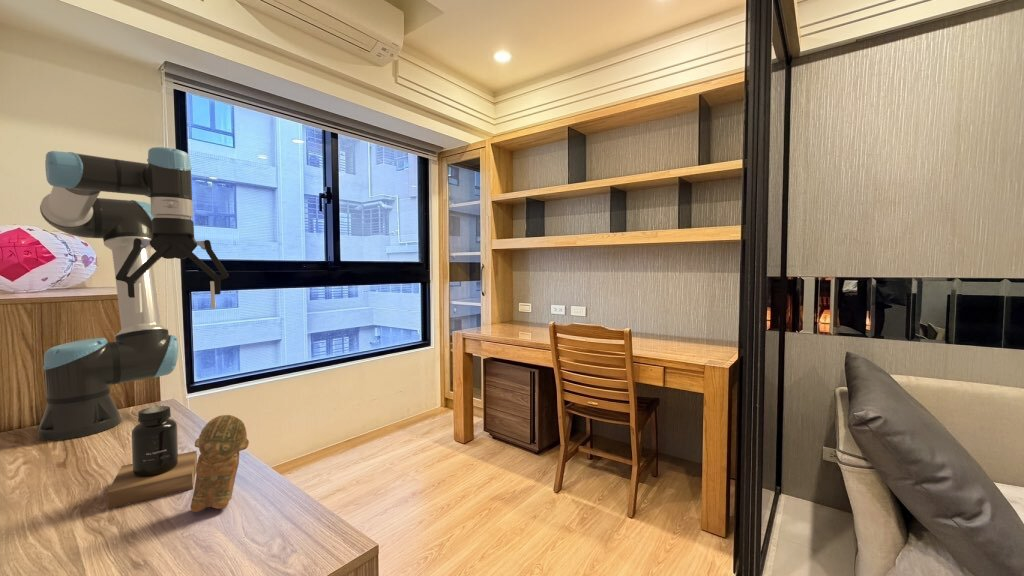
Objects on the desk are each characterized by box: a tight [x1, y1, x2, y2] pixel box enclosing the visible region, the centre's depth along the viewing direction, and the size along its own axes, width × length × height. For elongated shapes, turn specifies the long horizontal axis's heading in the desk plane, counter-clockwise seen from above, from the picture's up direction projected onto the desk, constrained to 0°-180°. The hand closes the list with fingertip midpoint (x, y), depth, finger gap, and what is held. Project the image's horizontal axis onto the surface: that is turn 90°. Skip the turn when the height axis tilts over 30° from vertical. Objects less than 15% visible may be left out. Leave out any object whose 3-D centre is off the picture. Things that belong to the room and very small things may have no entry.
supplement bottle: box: [131, 405, 179, 477], centre depth 82 cm, size 7×7×12 cm
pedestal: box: [106, 450, 198, 510], centre depth 83 cm, size 12×12×3 cm
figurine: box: [190, 414, 250, 513], centre depth 76 cm, size 8×8×15 cm
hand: (177, 310), depth 98 cm, fingers open, 13 cm apart
